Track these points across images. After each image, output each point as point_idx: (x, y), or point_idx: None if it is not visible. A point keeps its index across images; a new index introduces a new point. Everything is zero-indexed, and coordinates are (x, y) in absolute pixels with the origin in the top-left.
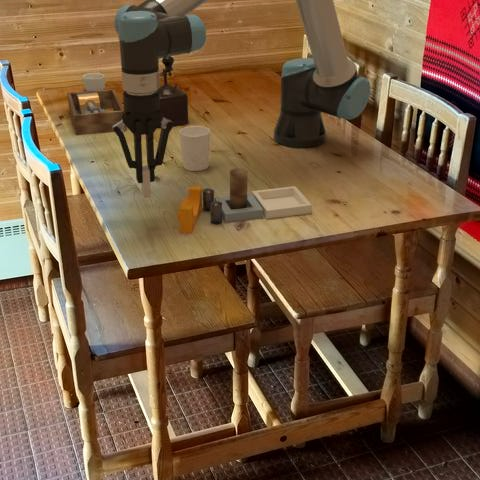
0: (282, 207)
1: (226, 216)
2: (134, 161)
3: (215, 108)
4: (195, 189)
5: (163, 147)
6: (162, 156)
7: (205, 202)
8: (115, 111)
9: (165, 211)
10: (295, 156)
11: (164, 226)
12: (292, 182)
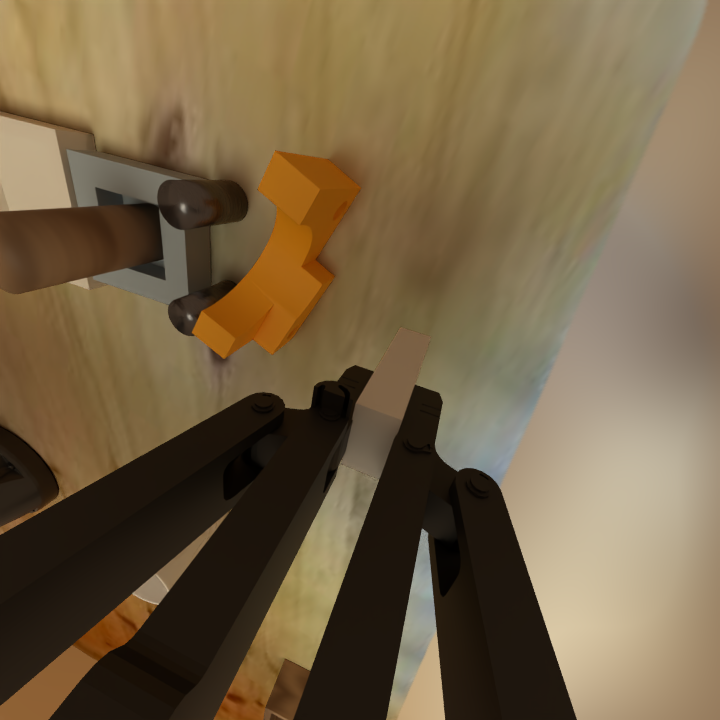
0: (10, 129)
1: (183, 177)
2: (424, 517)
3: (136, 613)
4: (214, 323)
5: (133, 482)
6: (212, 428)
7: (220, 298)
8: (282, 718)
9: (341, 359)
10: (23, 414)
11: (384, 272)
12: (27, 317)
